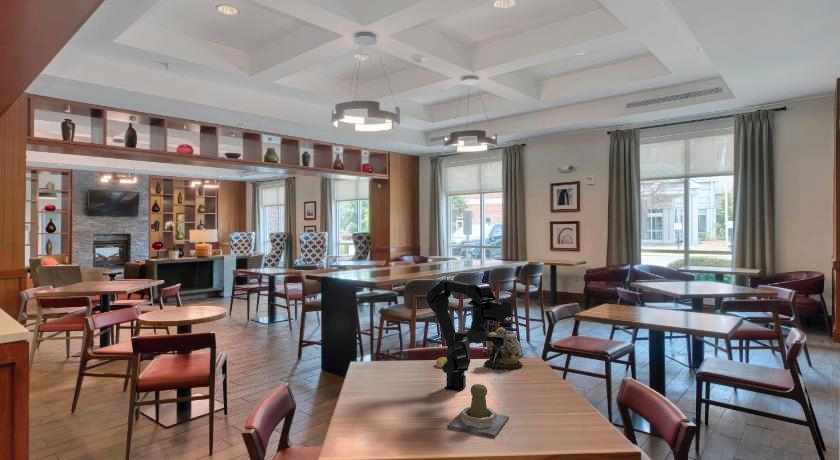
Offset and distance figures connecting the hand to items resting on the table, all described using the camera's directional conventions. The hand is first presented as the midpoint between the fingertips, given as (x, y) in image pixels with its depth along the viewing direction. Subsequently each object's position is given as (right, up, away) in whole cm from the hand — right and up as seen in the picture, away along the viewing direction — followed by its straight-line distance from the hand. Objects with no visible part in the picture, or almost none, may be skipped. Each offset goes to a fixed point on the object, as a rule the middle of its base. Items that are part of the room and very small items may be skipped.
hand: (480, 361), depth 170 cm
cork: (-3, -12, -23) cm, 26 cm away
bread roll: (-10, -13, +39) cm, 43 cm away
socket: (-3, -13, -23) cm, 26 cm away
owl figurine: (+15, -13, +40) cm, 44 cm away
